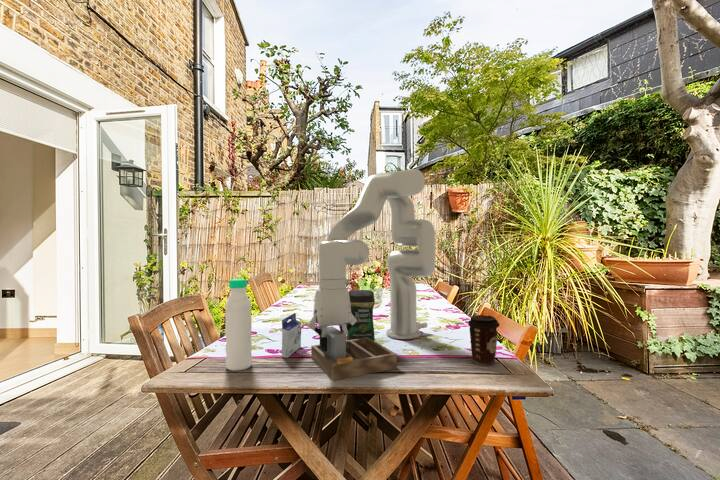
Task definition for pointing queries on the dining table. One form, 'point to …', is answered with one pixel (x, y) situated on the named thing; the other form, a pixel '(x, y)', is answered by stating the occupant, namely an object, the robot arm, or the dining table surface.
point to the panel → (335, 344)
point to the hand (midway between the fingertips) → (333, 348)
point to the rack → (366, 353)
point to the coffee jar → (362, 314)
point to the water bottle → (238, 327)
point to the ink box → (290, 335)
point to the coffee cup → (483, 338)
